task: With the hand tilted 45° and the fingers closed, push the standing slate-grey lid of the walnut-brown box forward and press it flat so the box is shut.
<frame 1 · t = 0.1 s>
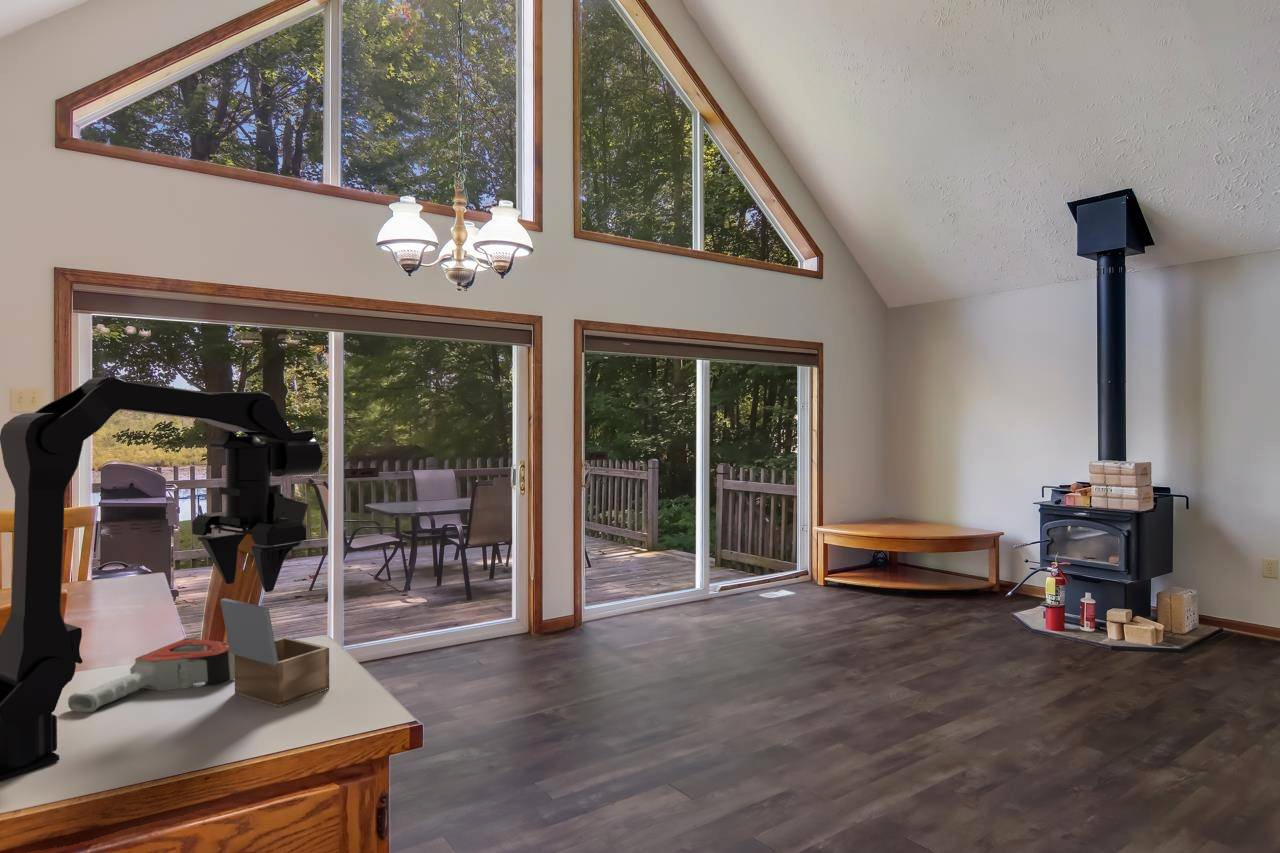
hand: (249, 587, 111), 15 cm above the table, tool pointing down, fingers open, 9 cm apart
box: (282, 691, 110), on the table
lid: (248, 631, 106), point 10 cm above the table, hinge at 100.0°
tape dispenser: (165, 688, 113), on the table
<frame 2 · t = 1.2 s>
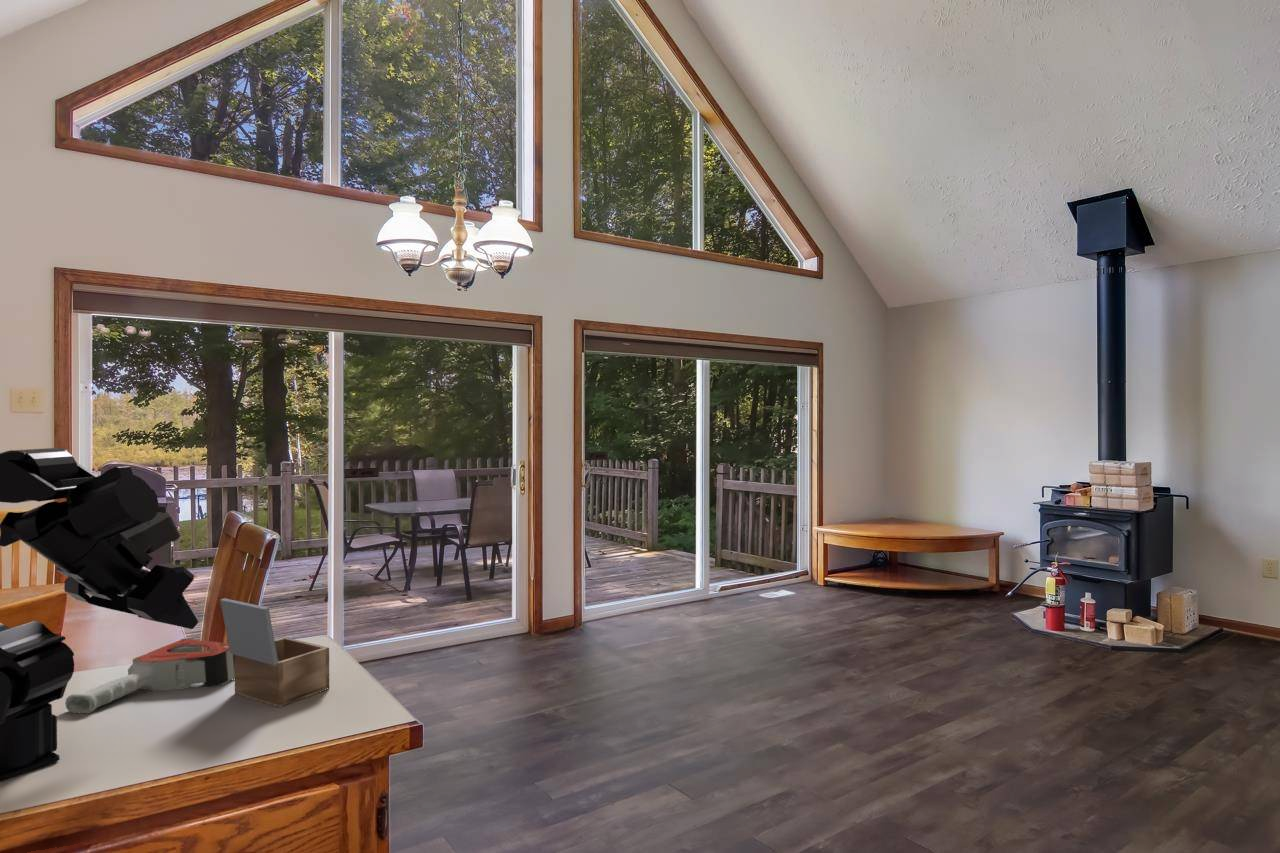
hand: (177, 620, 98), 14 cm above the table, tool tilted 45°, fingers open, 7 cm apart
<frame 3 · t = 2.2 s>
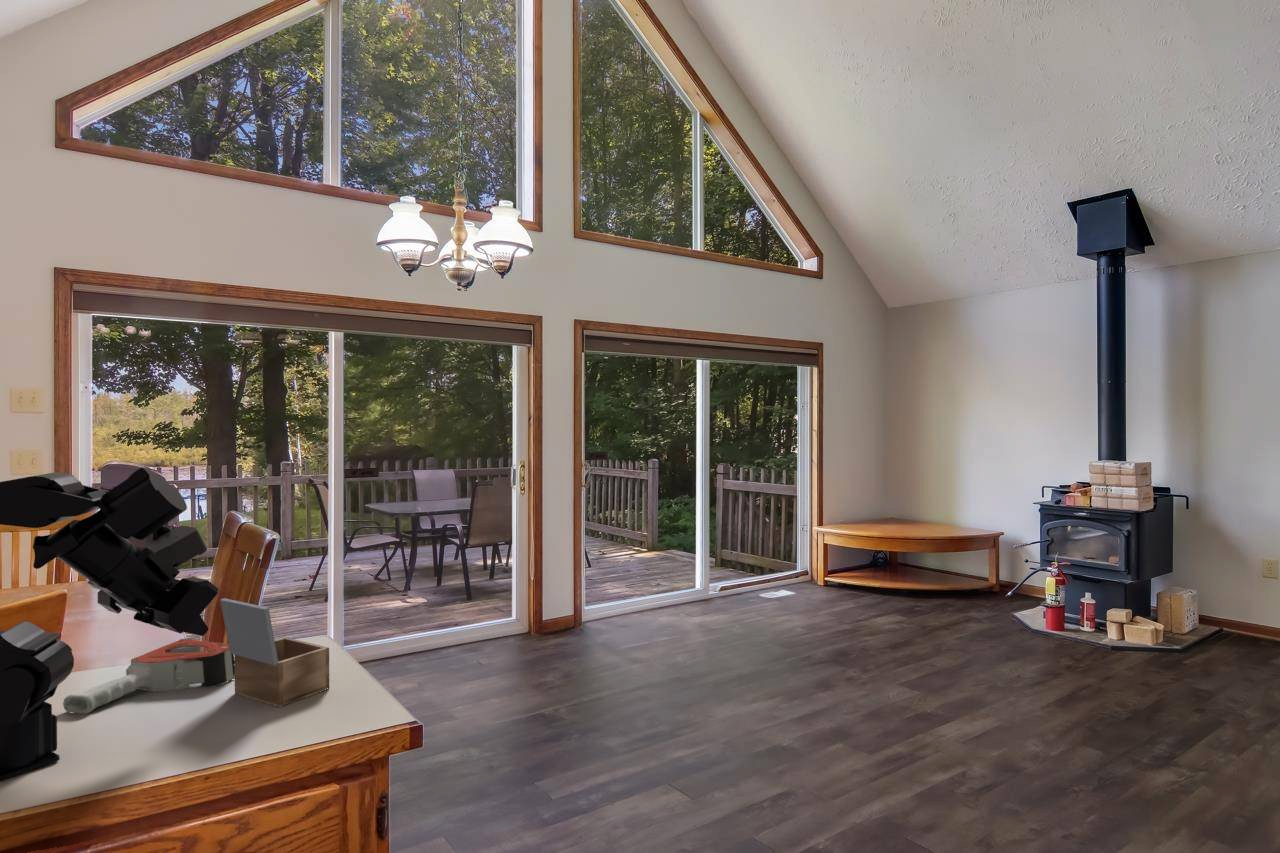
hand: (204, 632, 100), 11 cm above the table, tool tilted 45°, fingers closed
nothing on the table moved.
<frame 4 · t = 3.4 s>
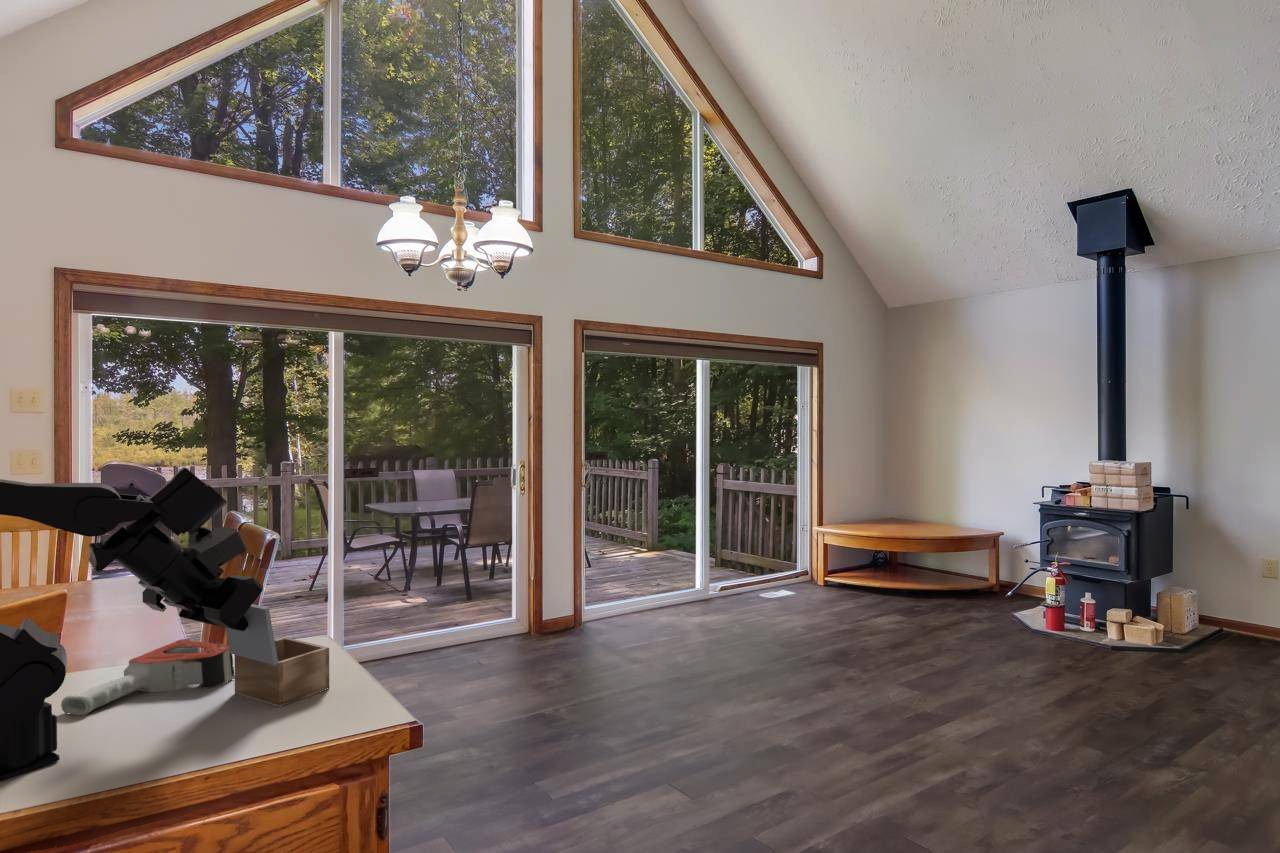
hand: (245, 627, 105), 11 cm above the table, tool tilted 45°, fingers closed, pressing on lid
lid: (248, 631, 106), point 10 cm above the table, hinge at 99.8°, touching gripper
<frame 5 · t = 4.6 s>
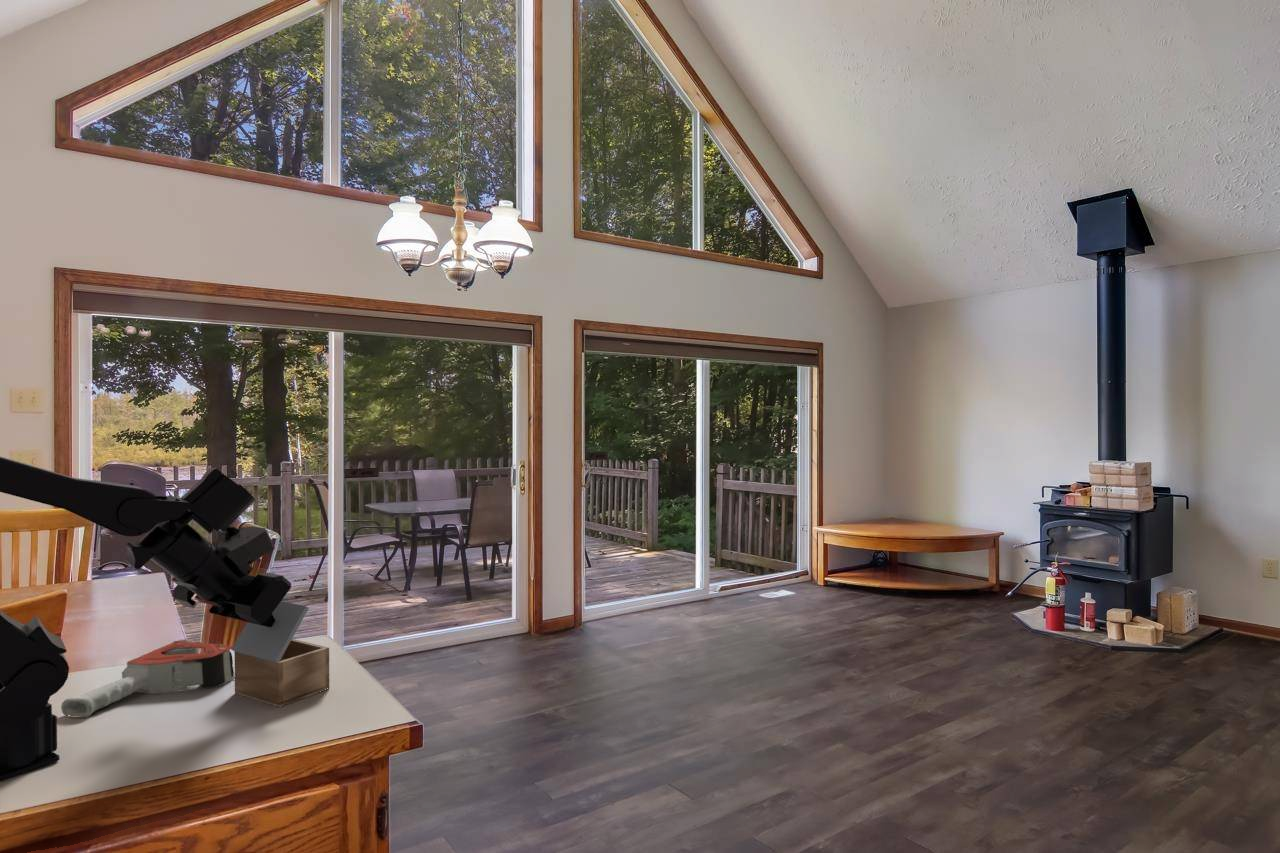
hand: (271, 623, 109), 10 cm above the table, tool tilted 45°, fingers closed, pressing on lid
lid: (269, 628, 109), point 9 cm above the table, hinge at 53.4°, touching gripper
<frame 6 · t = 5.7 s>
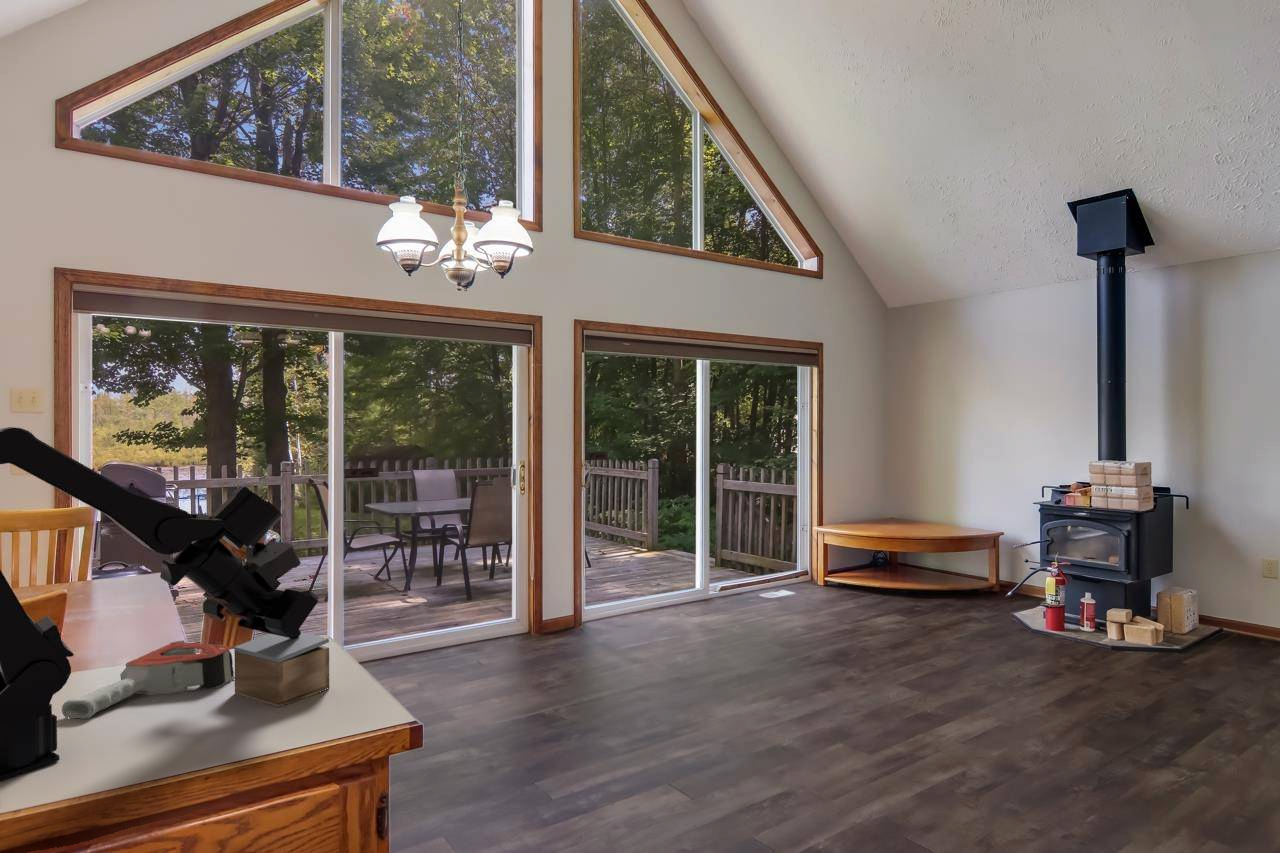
hand: (297, 636, 112), 7 cm above the table, tool tilted 45°, fingers closed, pressing on lid
lid: (281, 644, 110), point 7 cm above the table, hinge at 5.2°, touching gripper
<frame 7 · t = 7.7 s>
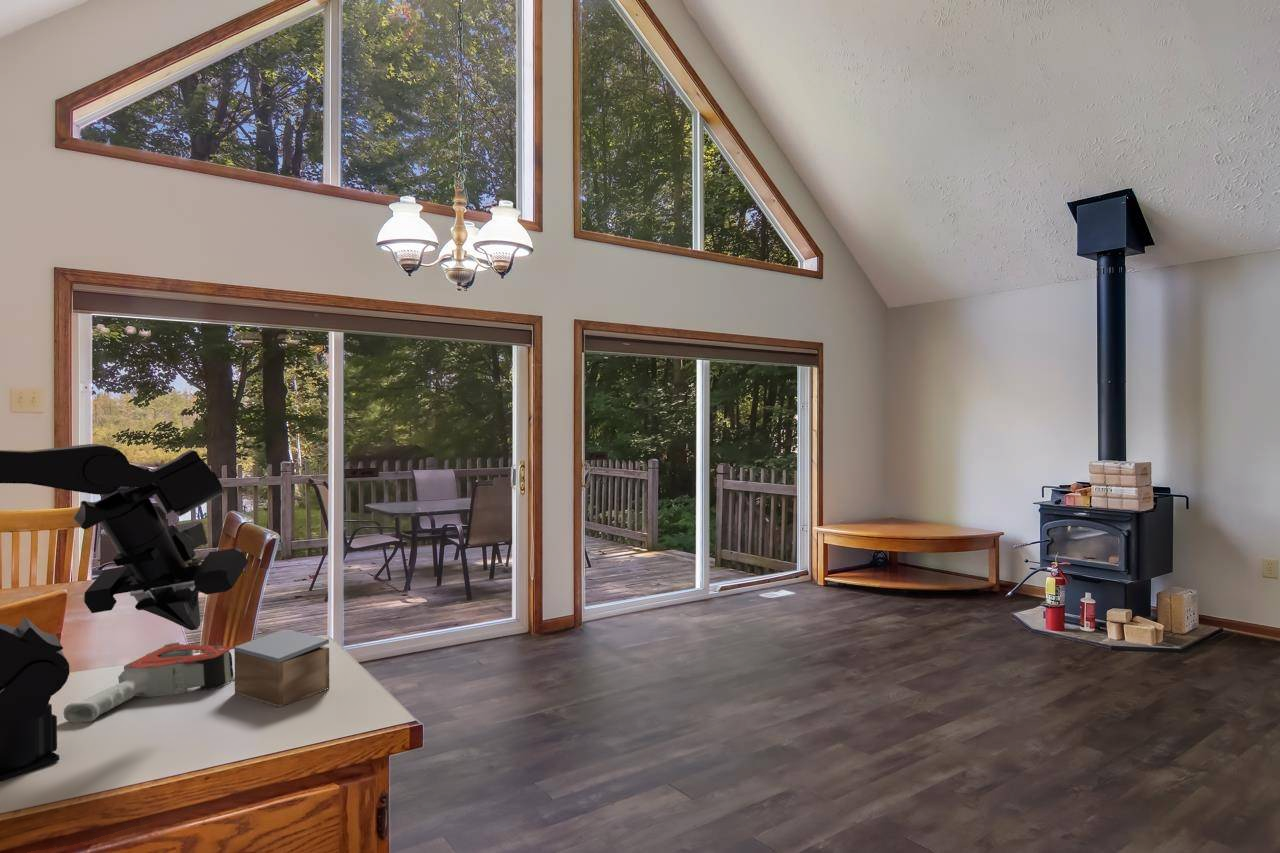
hand: (196, 627, 103), 11 cm above the table, tool tilted 30°, fingers closed
lid: (281, 645, 110), point 7 cm above the table, hinge at 4.3°
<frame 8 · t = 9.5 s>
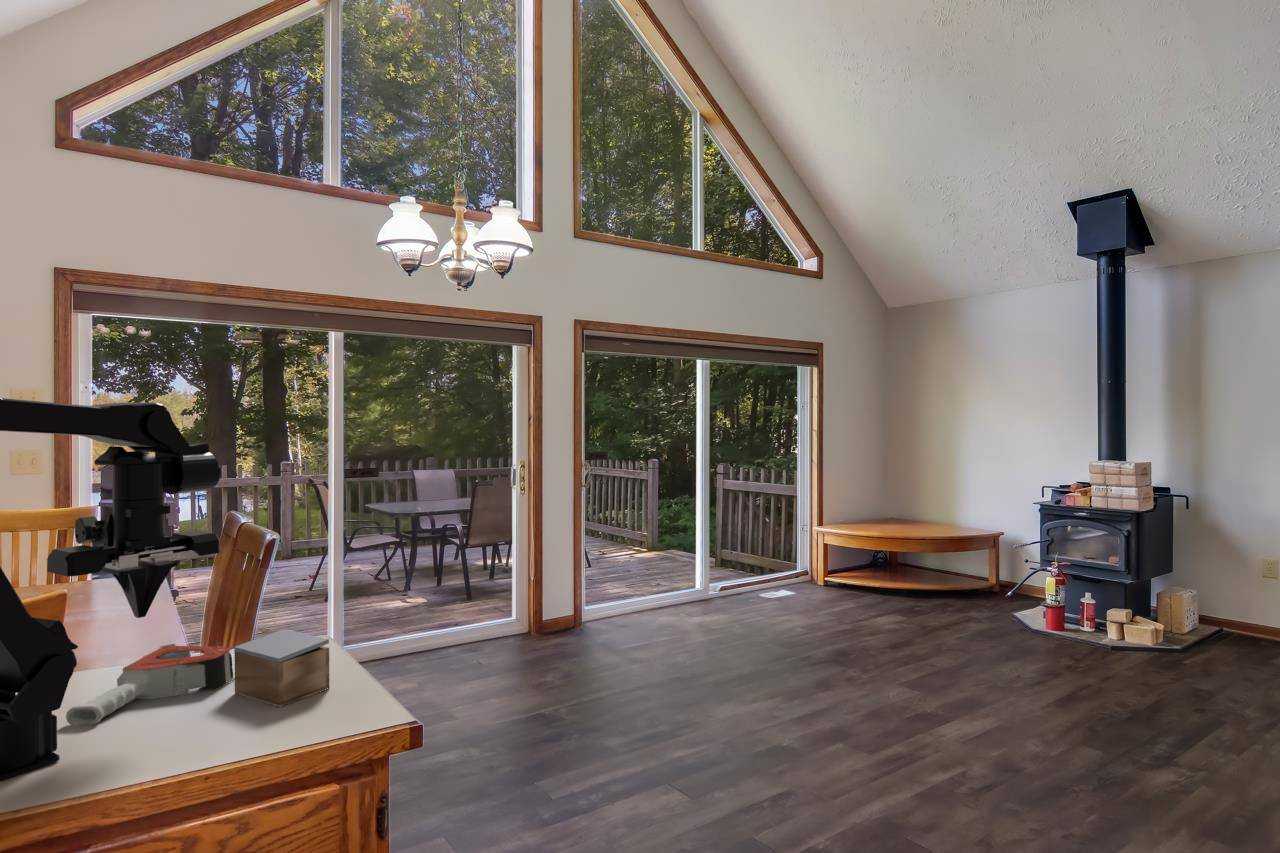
hand: (140, 617, 101), 13 cm above the table, tool pointing down, fingers closed
at the end: lid at +4° (first picture: +100°); tape dispenser moved 3.7 cm from its start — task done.
